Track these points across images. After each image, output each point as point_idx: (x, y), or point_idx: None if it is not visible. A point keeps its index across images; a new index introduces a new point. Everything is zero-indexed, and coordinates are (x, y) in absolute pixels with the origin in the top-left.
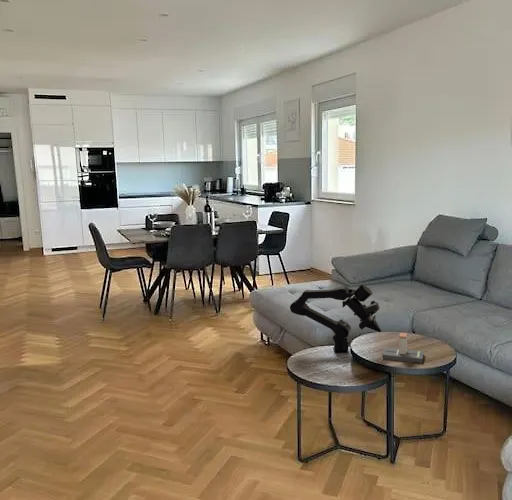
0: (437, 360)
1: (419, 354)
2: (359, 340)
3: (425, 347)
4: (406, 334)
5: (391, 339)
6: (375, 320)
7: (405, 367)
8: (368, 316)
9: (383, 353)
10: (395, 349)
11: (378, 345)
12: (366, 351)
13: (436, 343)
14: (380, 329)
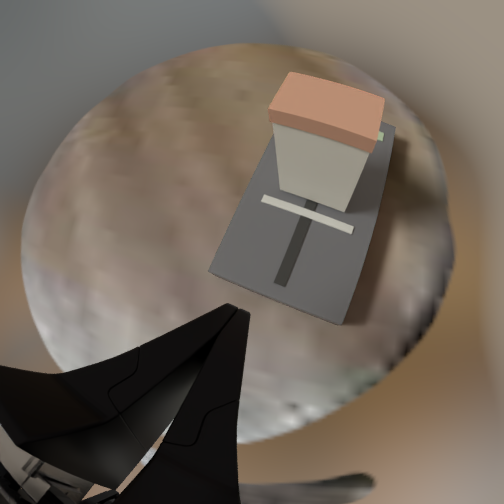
0: (348, 85)
1: None
2: (62, 357)
3: (200, 92)
4: (322, 81)
5: (79, 204)
6: (72, 386)
7: (442, 225)
8: (6, 479)
9: (321, 311)
10: (256, 214)
11: (123, 286)
12: None
13: (173, 66)
14: (226, 315)
